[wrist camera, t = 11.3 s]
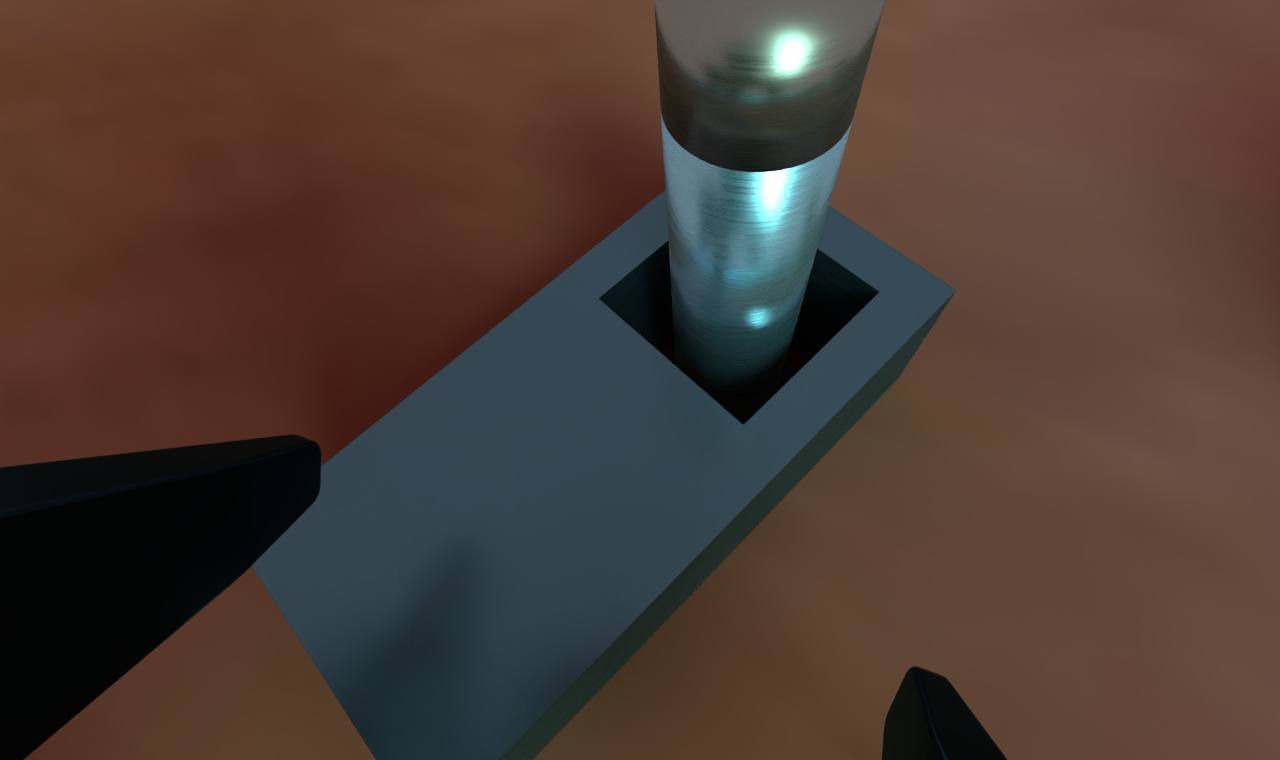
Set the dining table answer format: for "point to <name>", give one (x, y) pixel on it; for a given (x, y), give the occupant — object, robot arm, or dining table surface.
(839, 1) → the steel pin
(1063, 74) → the dining table surface
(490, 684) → the bar
